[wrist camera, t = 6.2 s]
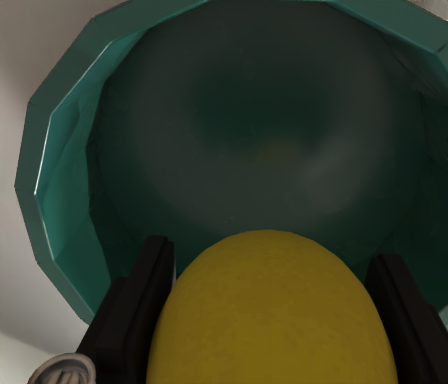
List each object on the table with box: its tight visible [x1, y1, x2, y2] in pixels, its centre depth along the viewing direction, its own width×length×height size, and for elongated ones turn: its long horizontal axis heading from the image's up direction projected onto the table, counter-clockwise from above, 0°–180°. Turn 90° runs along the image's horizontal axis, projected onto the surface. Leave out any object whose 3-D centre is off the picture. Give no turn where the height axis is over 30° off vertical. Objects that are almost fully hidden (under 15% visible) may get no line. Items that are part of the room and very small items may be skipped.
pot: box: [14, 0, 448, 327], centre depth 14 cm, size 15×21×5 cm
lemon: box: [146, 229, 398, 384], centre depth 9 cm, size 6×6×8 cm
